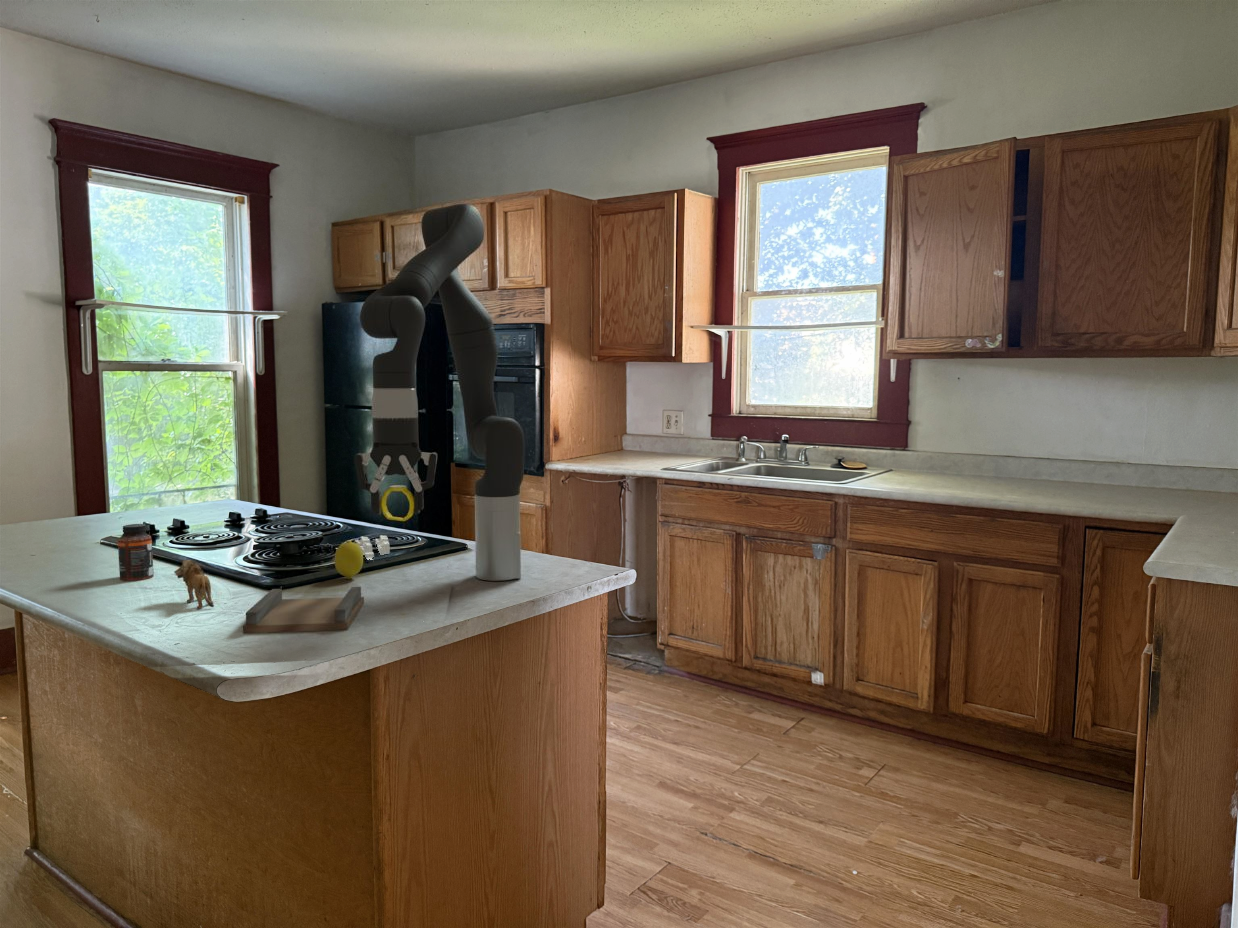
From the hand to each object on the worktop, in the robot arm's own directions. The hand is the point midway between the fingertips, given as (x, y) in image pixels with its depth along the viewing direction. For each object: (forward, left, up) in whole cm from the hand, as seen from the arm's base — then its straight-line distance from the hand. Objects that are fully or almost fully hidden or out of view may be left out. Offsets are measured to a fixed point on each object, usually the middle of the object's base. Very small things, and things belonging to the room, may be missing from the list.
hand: (397, 513), depth 145 cm
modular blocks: (+11, -51, -18) cm, 55 cm away
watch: (0, 0, -1) cm, 1 cm away
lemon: (+13, -28, -18) cm, 36 cm away
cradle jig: (+15, +1, -17) cm, 23 cm away
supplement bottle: (+55, -32, -18) cm, 66 cm away
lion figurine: (+36, -11, -18) cm, 42 cm away
